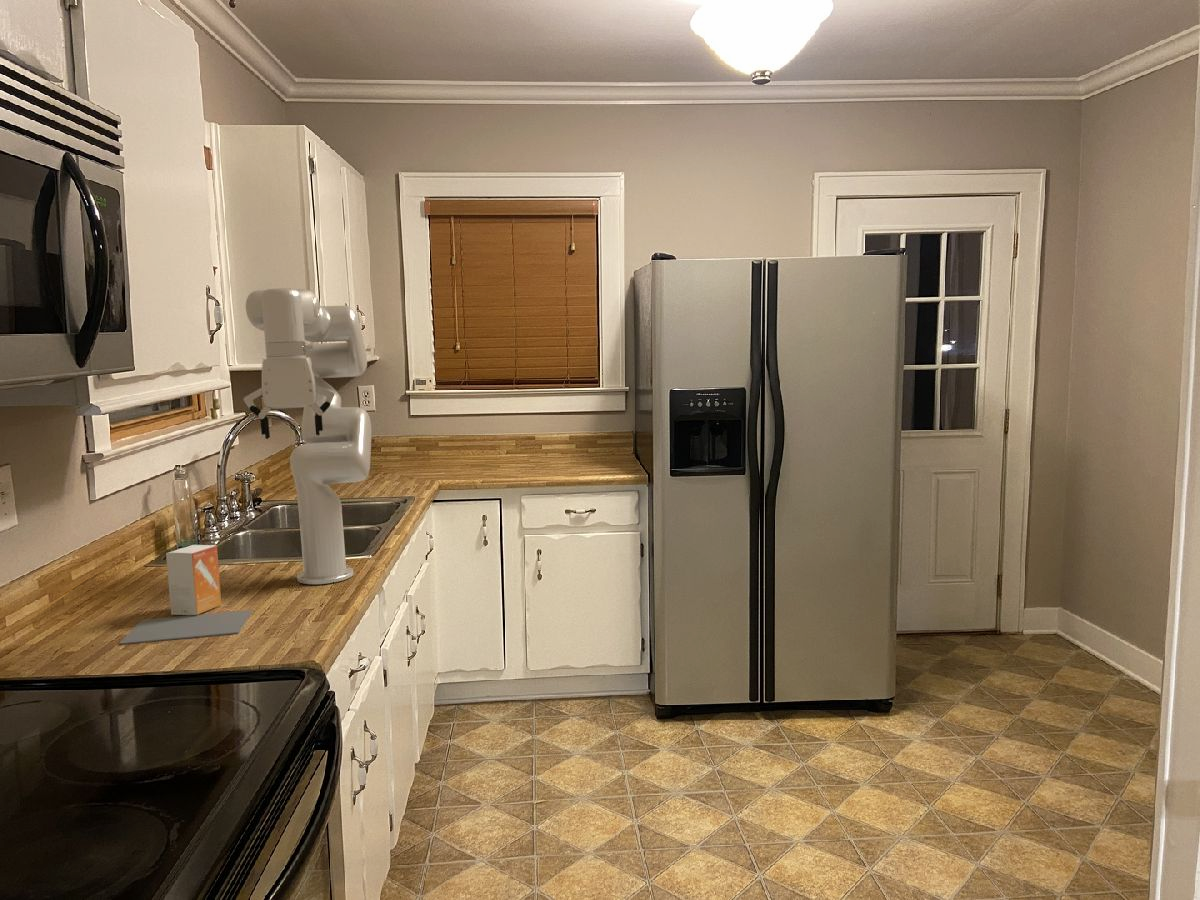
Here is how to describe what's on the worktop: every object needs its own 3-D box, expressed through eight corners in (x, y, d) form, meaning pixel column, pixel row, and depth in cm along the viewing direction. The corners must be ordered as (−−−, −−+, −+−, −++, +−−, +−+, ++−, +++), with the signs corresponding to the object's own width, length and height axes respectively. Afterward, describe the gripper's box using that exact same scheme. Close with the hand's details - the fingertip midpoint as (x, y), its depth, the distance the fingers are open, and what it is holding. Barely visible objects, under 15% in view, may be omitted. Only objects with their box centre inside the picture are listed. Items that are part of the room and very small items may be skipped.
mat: (142, 621, 178) (141, 619, 178) (251, 611, 182) (251, 609, 182) (119, 644, 164) (118, 643, 164) (238, 633, 169) (238, 632, 168)
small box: (197, 616, 179) (191, 553, 178) (170, 615, 181) (164, 552, 179) (222, 605, 187) (217, 544, 186) (196, 604, 188) (191, 544, 187)
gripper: (330, 349, 182) (336, 431, 185) (240, 352, 177) (248, 437, 179) (331, 349, 175) (338, 435, 178) (237, 353, 170) (245, 441, 172)
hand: (293, 436), depth 178 cm, fingers open, 9 cm apart
